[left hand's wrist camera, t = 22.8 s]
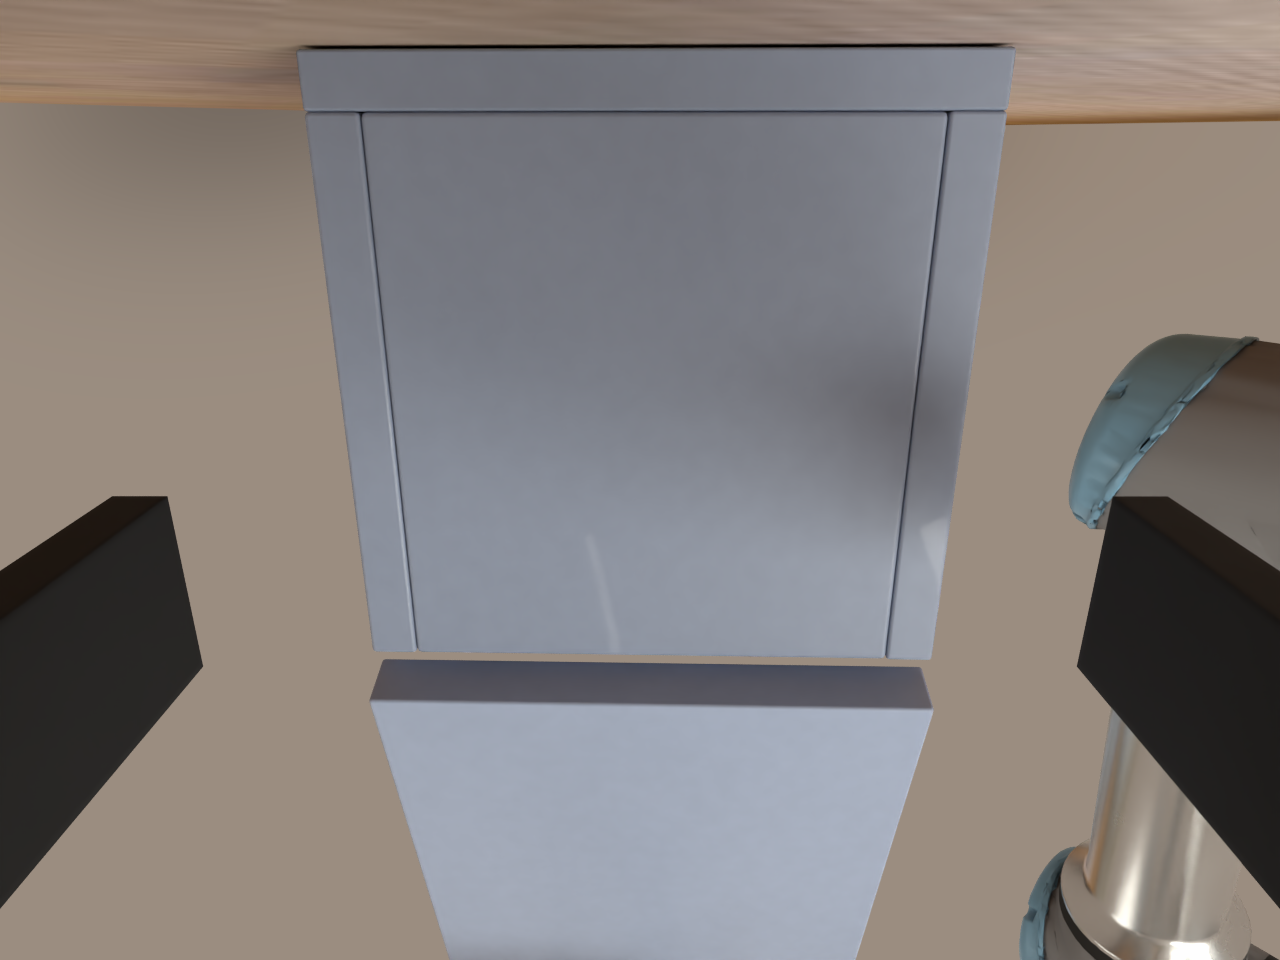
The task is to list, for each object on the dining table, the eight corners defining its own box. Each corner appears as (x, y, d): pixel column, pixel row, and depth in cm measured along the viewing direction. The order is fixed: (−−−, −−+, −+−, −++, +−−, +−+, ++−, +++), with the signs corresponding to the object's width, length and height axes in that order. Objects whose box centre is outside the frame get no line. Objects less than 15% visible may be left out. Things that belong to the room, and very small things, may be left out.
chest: (839, 96, 24) (814, 432, 28) (480, 96, 24) (500, 430, 28) (1017, 45, 12) (932, 661, 15) (294, 48, 12) (371, 653, 16)
